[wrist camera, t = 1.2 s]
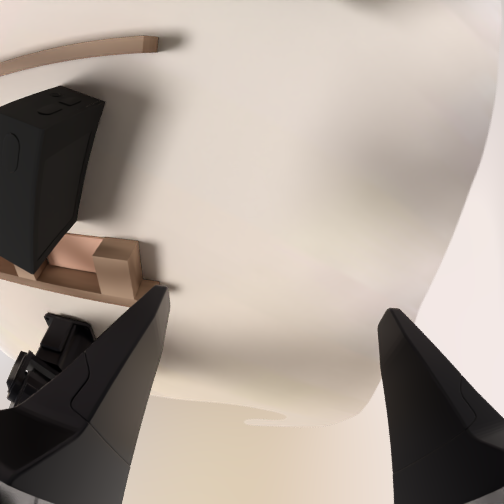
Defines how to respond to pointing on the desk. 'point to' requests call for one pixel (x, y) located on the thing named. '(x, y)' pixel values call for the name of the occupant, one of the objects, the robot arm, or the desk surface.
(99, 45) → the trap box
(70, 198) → the digital camera
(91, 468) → the robot arm
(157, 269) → the desk surface
